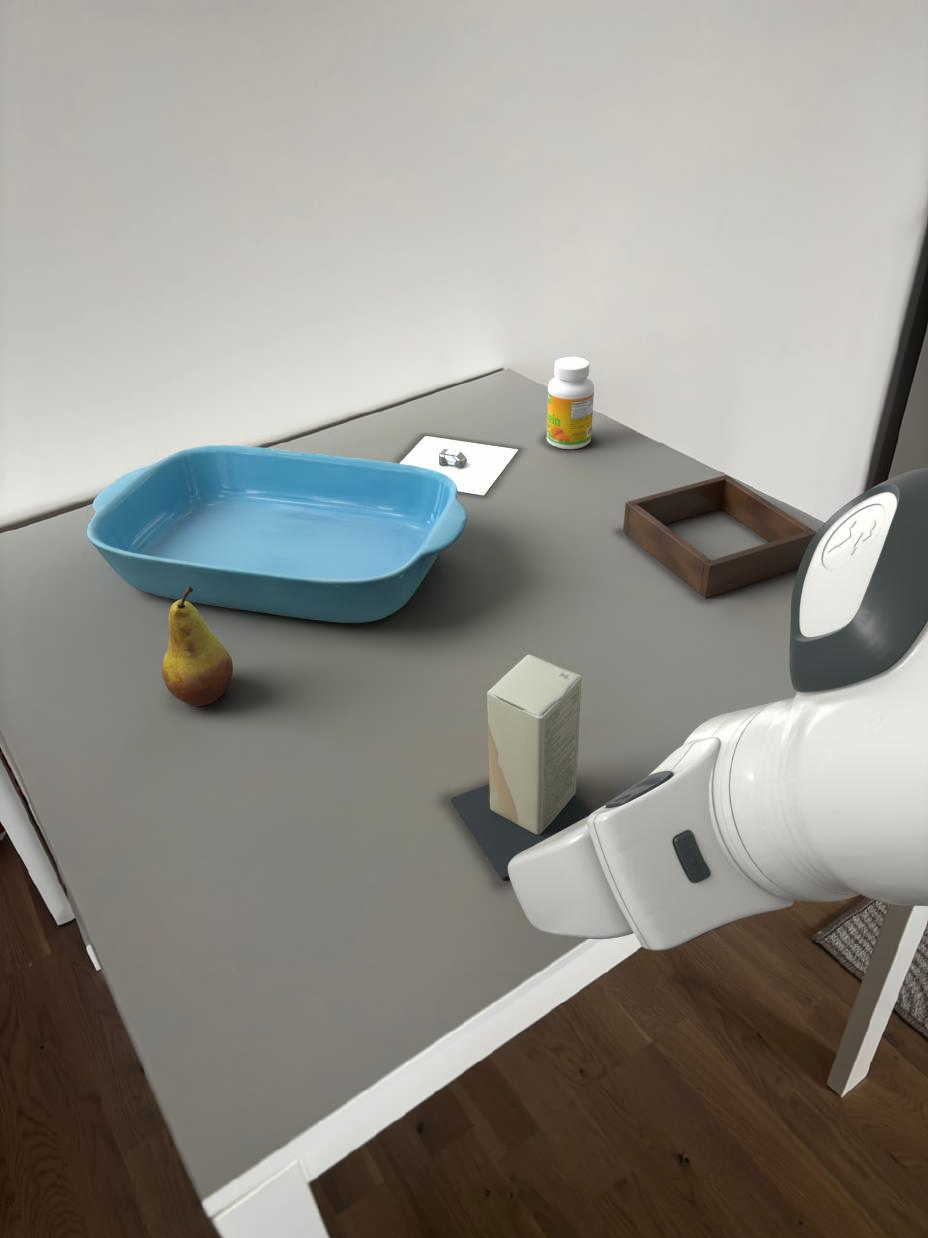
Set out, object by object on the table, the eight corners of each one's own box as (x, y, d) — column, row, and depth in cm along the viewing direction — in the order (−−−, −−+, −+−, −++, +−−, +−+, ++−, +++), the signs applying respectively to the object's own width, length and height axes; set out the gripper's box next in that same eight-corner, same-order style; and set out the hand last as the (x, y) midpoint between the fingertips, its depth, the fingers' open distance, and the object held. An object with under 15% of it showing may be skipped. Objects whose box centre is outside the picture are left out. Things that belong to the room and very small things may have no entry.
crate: (811, 564, 94) (818, 532, 92) (705, 598, 89) (709, 566, 87) (721, 503, 104) (726, 474, 102) (622, 532, 99) (625, 501, 97)
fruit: (244, 672, 82) (220, 551, 75) (230, 717, 77) (203, 593, 70) (178, 673, 82) (148, 552, 75) (161, 718, 77) (127, 594, 70)
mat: (606, 838, 66) (606, 835, 66) (503, 880, 64) (503, 878, 63) (547, 764, 72) (548, 761, 72) (450, 801, 69) (450, 798, 69)
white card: (483, 495, 106) (483, 483, 105) (384, 479, 110) (383, 467, 109) (518, 449, 115) (518, 437, 114) (425, 436, 119) (424, 424, 118)
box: (528, 769, 71) (530, 649, 65) (578, 794, 69) (586, 673, 63) (486, 812, 68) (484, 690, 62) (537, 839, 66) (541, 717, 59)
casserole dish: (56, 601, 91) (34, 535, 87) (177, 491, 109) (164, 432, 104) (427, 663, 82) (423, 593, 78) (495, 532, 100) (494, 470, 96)
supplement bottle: (538, 436, 118) (540, 358, 113) (577, 427, 120) (581, 351, 114) (559, 453, 114) (562, 374, 109) (599, 444, 116) (604, 366, 110)
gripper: (884, 660, 50) (719, 702, 62) (570, 832, 41) (451, 841, 53) (938, 773, 49) (761, 793, 62) (632, 973, 40) (498, 949, 53)
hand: (615, 816), depth 57 cm, fingers open, 8 cm apart
